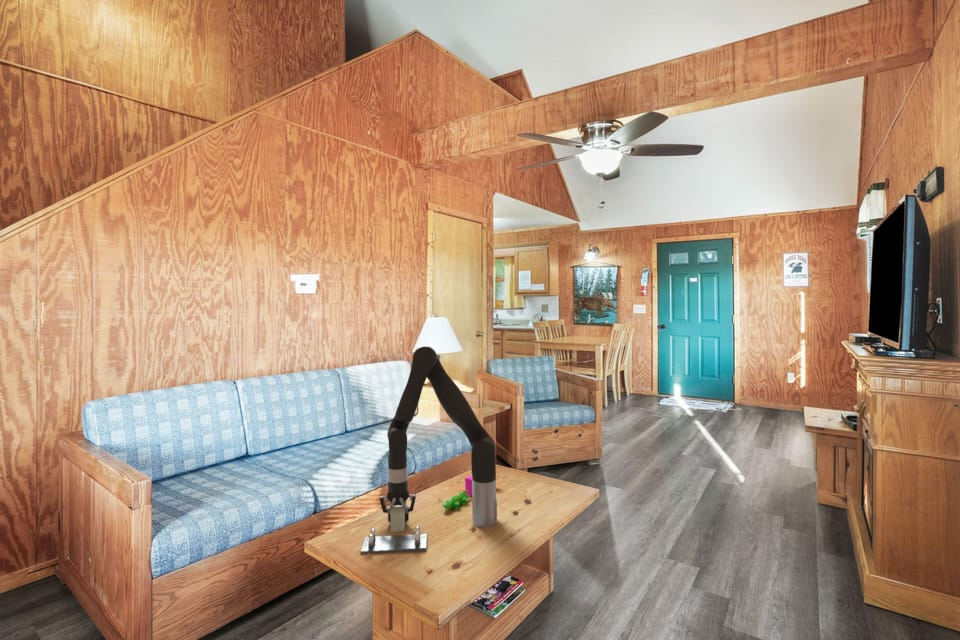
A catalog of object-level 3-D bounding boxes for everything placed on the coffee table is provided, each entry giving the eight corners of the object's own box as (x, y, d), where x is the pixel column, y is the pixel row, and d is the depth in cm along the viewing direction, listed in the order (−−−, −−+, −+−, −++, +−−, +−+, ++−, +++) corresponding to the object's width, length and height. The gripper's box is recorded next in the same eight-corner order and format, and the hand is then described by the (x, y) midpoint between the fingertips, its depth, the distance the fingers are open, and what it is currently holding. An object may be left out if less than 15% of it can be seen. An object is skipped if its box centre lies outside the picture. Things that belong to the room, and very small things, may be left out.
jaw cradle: (426, 537, 174) (426, 522, 174) (426, 551, 164) (425, 536, 164) (365, 540, 172) (364, 526, 172) (360, 554, 162) (360, 539, 162)
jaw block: (405, 517, 190) (405, 499, 190) (404, 531, 178) (404, 513, 178) (393, 518, 190) (392, 500, 190) (390, 532, 178) (390, 513, 178)
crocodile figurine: (437, 511, 196) (437, 501, 196) (462, 496, 211) (461, 486, 211) (450, 515, 192) (450, 504, 192) (474, 499, 207) (474, 489, 207)
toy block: (475, 498, 209) (475, 481, 208) (465, 494, 213) (465, 477, 213) (498, 488, 220) (497, 471, 219) (487, 484, 224) (487, 468, 224)
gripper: (417, 474, 188) (417, 516, 188) (379, 475, 187) (380, 518, 187) (416, 481, 180) (416, 525, 181) (377, 483, 179) (378, 527, 180)
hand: (398, 521), depth 184 cm, fingers closed on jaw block, 5 cm apart
